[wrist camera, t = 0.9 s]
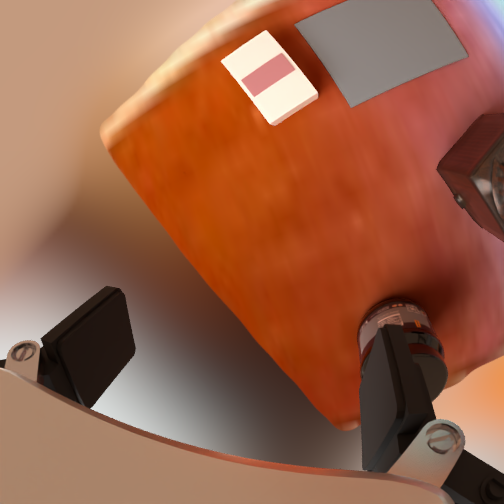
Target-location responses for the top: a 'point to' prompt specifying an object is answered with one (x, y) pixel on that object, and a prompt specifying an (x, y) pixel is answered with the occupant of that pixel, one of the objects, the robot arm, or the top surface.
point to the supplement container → (417, 335)
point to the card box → (270, 78)
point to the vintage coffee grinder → (479, 172)
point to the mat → (380, 44)
